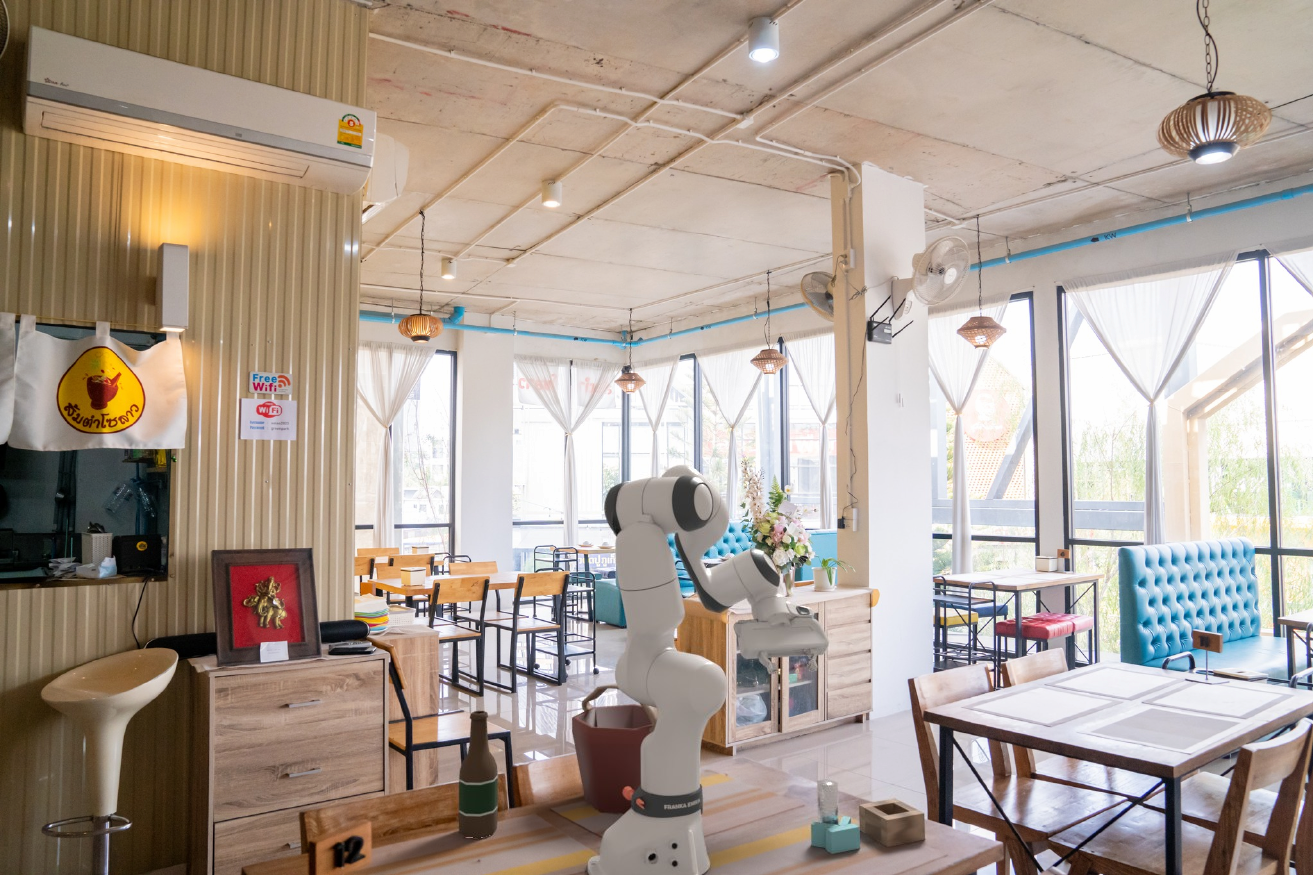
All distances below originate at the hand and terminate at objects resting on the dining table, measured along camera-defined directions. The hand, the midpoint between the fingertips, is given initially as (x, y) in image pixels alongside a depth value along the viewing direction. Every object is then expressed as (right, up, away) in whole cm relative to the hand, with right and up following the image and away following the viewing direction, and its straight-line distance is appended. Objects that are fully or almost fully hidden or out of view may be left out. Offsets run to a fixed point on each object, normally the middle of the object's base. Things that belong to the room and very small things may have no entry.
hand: (793, 671), depth 179 cm
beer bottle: (-66, -31, -9) cm, 73 cm away
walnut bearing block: (+18, -29, -12) cm, 36 cm away
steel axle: (+5, -29, -14) cm, 33 cm away
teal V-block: (+6, -29, -17) cm, 34 cm away
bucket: (-36, -32, +9) cm, 49 cm away
